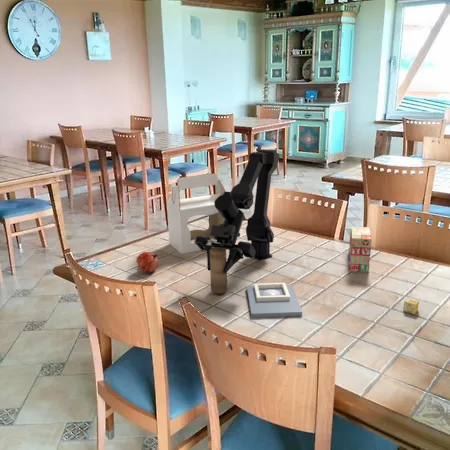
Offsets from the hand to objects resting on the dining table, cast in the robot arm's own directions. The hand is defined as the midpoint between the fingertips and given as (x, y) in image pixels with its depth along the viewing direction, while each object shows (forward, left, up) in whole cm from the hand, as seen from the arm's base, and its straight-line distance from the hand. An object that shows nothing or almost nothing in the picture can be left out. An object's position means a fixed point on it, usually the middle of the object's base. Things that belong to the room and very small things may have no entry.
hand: (216, 271), depth 138 cm
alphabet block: (-38, +41, -8) cm, 56 cm away
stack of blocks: (-55, +7, -8) cm, 56 cm away
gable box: (-19, -42, -8) cm, 47 cm away
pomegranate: (+10, -29, -8) cm, 32 cm away
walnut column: (-1, -1, -7) cm, 7 cm away
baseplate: (-11, +14, -7) cm, 19 cm away
